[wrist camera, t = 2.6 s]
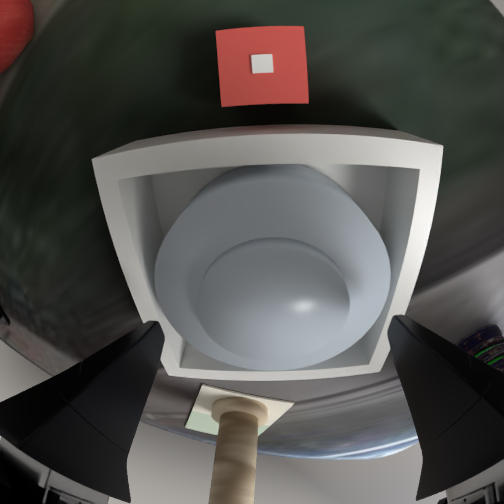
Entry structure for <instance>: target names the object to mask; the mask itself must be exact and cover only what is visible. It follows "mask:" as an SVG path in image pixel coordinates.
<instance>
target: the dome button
mask: <svg viewBox="0 0 504 504" xmlns="http://www.w3.org/2000/svg"><path fill="white" fill-rule="evenodd" d="M390 277H391V270H390V261H389V257H388V253H387V250H386V247H385V244H384V242H383V240H382V238H381V236H380V234H379V233H378V231H377V230H376V229H375V227H374V226H373V224H372V223H371V222H370V220H369V219H368V218H367V216H366V215H365V214H364V212H363V211H362V210H361V208H360V207H359V206H358V205H357V203H356V202H355V201H354V199H353V198H352V197H351V196H350V194H349V193H348V192H347V191H346V190H344V189H343V188H342V187H341V186H340V185H339V184H338V183H336V182H335V181H333V180H332V179H331V178H329V177H328V176H326V175H324V174H322V173H320V172H318V171H316V170H313V169H310V168H307V167H304V166H301V165H296V164H265V165H245V166H241V167H238V168H235V169H233V170H230V171H228V172H225V173H223V174H222V175H220V176H218V177H216V178H215V179H213V180H212V181H210V182H209V183H208V184H206V185H205V186H204V187H203V188H201V189H200V190H199V192H198V193H197V194H196V195H195V196H194V197H193V198H192V199H191V201H190V202H189V203H188V205H187V206H186V207H185V209H184V210H183V212H182V213H181V215H180V216H179V217H178V219H177V220H176V222H175V223H174V225H173V226H172V227H171V229H170V231H169V232H168V234H167V235H166V237H165V238H164V240H163V242H162V245H161V247H160V249H159V252H158V255H157V259H156V263H155V273H154V281H155V290H156V294H157V298H158V302H159V304H160V306H161V309H162V311H163V313H164V315H165V316H166V318H167V320H168V321H169V323H170V324H171V325H172V327H173V328H174V329H175V330H176V332H177V333H178V334H179V335H180V336H181V337H182V338H183V339H184V340H186V341H187V342H188V343H189V344H191V345H192V346H193V347H194V348H196V349H198V350H199V351H201V352H202V353H204V354H206V355H208V356H210V357H212V358H214V359H216V360H219V361H221V362H224V363H226V364H230V365H233V366H237V367H241V368H246V369H252V370H262V371H280V370H291V369H298V368H302V367H307V366H311V365H314V364H317V363H320V362H323V361H325V360H327V359H330V358H332V357H334V356H336V355H338V354H339V353H341V352H343V351H345V350H346V349H348V348H349V347H350V346H352V345H353V344H355V343H356V342H357V341H358V340H359V339H360V338H362V337H363V336H364V335H365V334H366V332H367V331H368V330H369V329H370V328H371V327H372V325H373V324H374V323H375V321H376V320H377V318H378V317H379V315H380V313H381V311H382V309H383V307H384V305H385V302H386V299H387V297H388V292H389V288H390Z"/></svg>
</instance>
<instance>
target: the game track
mask: <svg viewBox="0 0 504 504" xmlns="http://www.w3.org/2000/svg"><path fill="white" fill-rule="evenodd" d="M226 397H244V398H250V399H254V400H257V401H259V402H262V403H263V404H265V405H266V406H267V408H268V420H267V423H266V424H264V425H263V426H260V427H258V436H259V435H260V434H261V433H262V432H263V431H265V430H266V429H267V428H268V427H269V426H270V425H271V424H273V423H274V422H275V421H276V420H277V419H278V418H279V417H280V416H282V415H283V414H284V413H285V412H286V411H287V410H288V409H289V408H290V407H291V406H292V405H293V404H294V402H292V401H285V400H279V399H272V398H266V397H261V396H255V395H250V394H245V393H240V392H236V391H231V390H227V389H222V388H218V387H214V386H210V385H206V384H202V387H201V389H200V392H199V394H198V397H197V399H196V402H195V404H194V407H193V409H192V412H191V414H190V416H189V419H188V421H187V424H186V426H185V428H189V429H193V430H197V431H201V432H205V433H210V434H215V435H218V429H219V423H217V422H216V421H214V420H213V419H212V417H211V413H212V407H213V403H214V402H215V401H216V400H218V399H221V398H226Z"/></svg>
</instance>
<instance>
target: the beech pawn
mask: <svg viewBox="0 0 504 504" xmlns="http://www.w3.org/2000/svg"><path fill="white" fill-rule="evenodd" d="M211 417H212V419H213V420H214V421H216V422H217V423H219V429H218V436H217V443H216V451H215V458H214V466H213V473H212V481H211V488H210V497H209V504H253V503H254V489H255V488H254V487H255V472H256V455H257V437H258V427H260V426H263V425H264V424H266V423H267V420H268V408H267V406H266V405H265V404H263V403H262V402H259V401H257V400H254V399H250V398H244V397H226V398H221V399H218V400H216V401H215V402H214V403H213V407H212V413H211Z"/></svg>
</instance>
